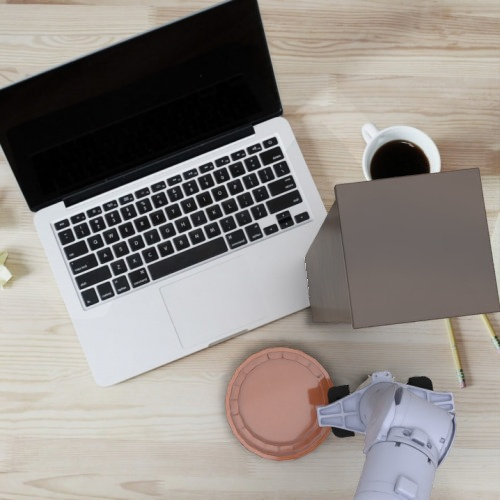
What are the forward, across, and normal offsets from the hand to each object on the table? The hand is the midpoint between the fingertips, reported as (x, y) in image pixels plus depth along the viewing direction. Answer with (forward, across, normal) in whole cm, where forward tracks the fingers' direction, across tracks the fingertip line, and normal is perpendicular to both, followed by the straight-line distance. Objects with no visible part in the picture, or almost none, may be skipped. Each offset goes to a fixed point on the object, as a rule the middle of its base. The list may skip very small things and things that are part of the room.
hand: (373, 399), depth 85 cm
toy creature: (+2, 0, 0) cm, 2 cm away
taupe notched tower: (+2, +2, -14) cm, 14 cm away
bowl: (+2, +11, -1) cm, 11 cm away
